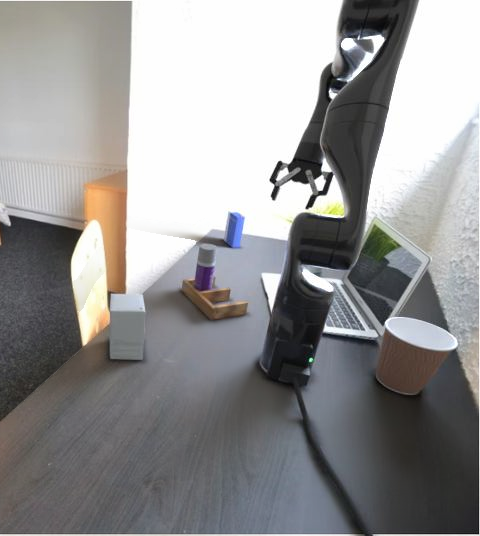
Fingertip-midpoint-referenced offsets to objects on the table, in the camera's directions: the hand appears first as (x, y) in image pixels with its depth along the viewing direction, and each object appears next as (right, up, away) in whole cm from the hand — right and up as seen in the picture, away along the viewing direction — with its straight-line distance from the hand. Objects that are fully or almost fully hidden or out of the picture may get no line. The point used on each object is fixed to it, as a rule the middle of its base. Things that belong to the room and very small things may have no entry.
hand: (289, 204), depth 102 cm
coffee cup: (+6, -40, -28) cm, 49 cm away
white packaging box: (-47, -36, -17) cm, 61 cm away
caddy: (-21, -27, +1) cm, 34 cm away
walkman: (0, -8, +38) cm, 39 cm away
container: (-23, -25, +4) cm, 34 cm away
